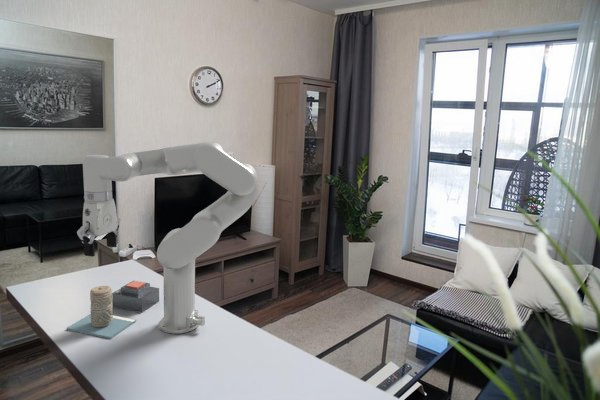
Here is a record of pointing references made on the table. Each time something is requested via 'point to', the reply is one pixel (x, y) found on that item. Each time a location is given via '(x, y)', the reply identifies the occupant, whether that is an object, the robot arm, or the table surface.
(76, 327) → the mat
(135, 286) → the button
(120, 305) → the breaker box
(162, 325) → the robot arm
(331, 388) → the table surface
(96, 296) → the carving
